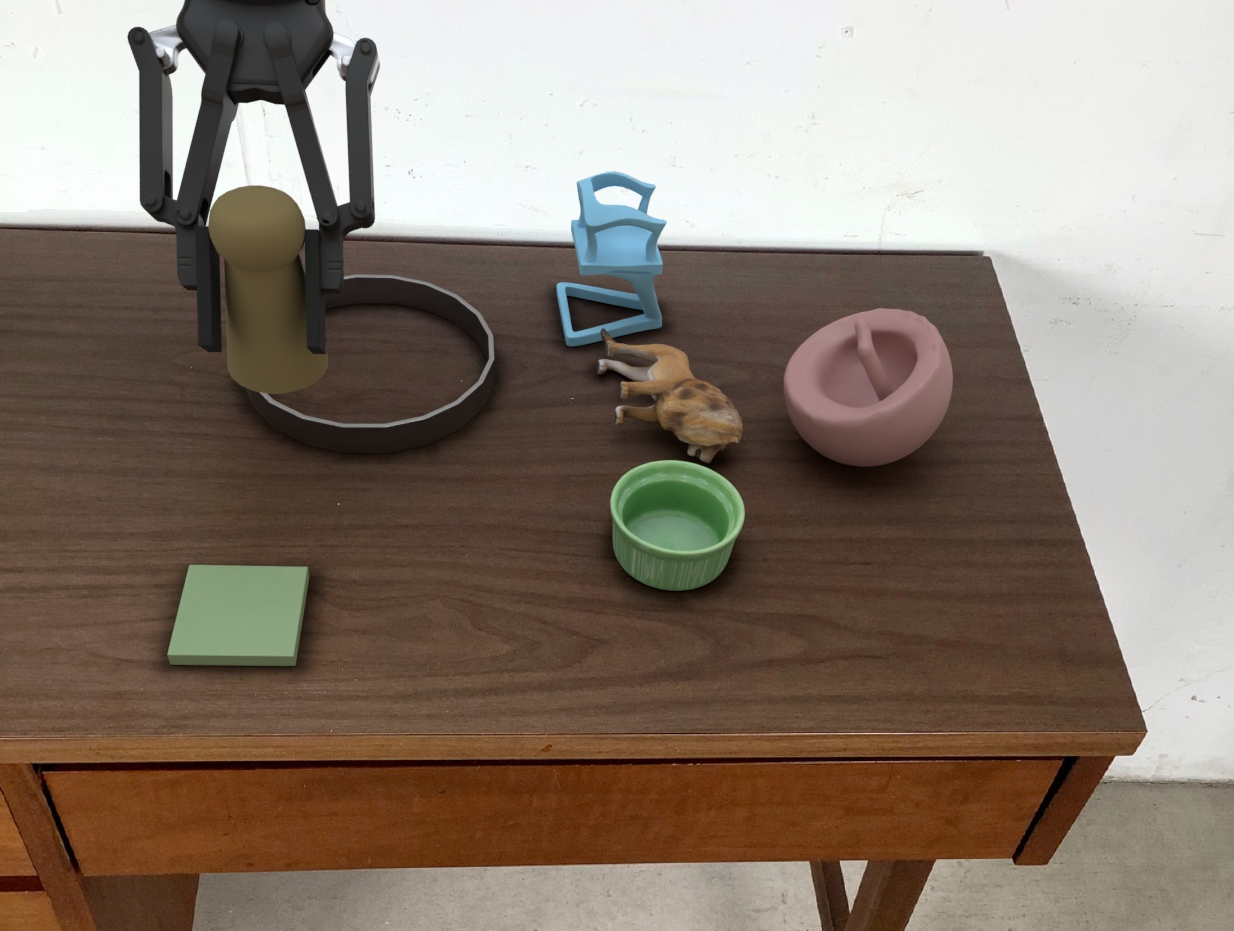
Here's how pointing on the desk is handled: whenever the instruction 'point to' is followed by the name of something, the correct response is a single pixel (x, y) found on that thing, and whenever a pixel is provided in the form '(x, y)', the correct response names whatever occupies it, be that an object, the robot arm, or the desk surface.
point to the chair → (614, 257)
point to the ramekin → (674, 524)
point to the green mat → (239, 616)
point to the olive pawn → (264, 289)
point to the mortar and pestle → (869, 386)
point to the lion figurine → (674, 397)
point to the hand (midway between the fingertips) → (263, 349)
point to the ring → (402, 431)
